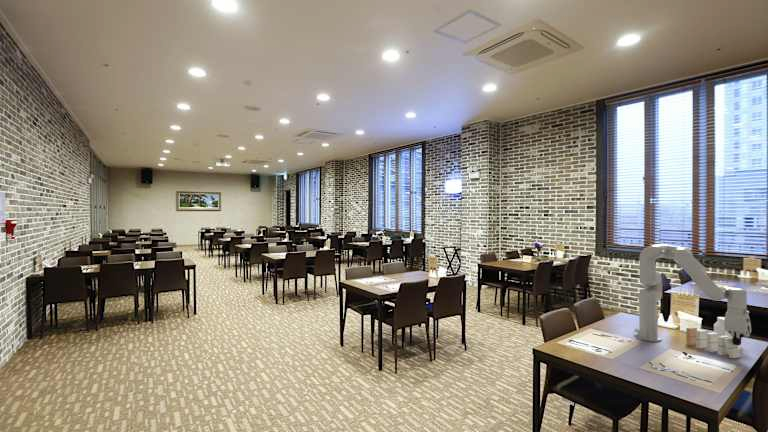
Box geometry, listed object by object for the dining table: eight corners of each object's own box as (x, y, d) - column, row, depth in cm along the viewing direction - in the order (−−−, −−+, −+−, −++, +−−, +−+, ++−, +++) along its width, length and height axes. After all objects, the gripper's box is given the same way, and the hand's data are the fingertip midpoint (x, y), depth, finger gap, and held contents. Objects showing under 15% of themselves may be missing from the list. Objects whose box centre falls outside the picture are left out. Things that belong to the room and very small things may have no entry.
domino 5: (729, 357, 198) (723, 338, 201) (737, 356, 200) (731, 337, 203) (733, 358, 197) (727, 338, 199) (741, 356, 198) (734, 337, 201)
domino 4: (718, 354, 204) (718, 336, 204) (725, 353, 205) (725, 335, 205) (721, 355, 202) (721, 337, 202) (729, 354, 203) (729, 336, 203)
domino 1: (686, 344, 219) (686, 327, 219) (693, 343, 221) (693, 326, 221) (689, 345, 218) (689, 328, 218) (696, 344, 219) (697, 327, 219)
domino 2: (696, 347, 214) (696, 330, 214) (703, 346, 216) (703, 329, 216) (699, 348, 212) (699, 331, 212) (707, 347, 214) (707, 330, 214)
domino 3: (706, 350, 209) (706, 333, 209) (714, 349, 211) (714, 332, 211) (710, 351, 207) (710, 334, 207) (718, 350, 209) (717, 333, 209)
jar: (712, 342, 222) (712, 318, 222) (715, 339, 228) (715, 315, 228) (738, 347, 213) (738, 322, 213) (740, 344, 219) (740, 319, 219)
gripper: (759, 314, 192) (758, 348, 192) (725, 307, 206) (725, 339, 206) (749, 315, 189) (749, 350, 189) (716, 308, 204) (716, 340, 204)
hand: (736, 344), depth 198 cm, fingers closed
